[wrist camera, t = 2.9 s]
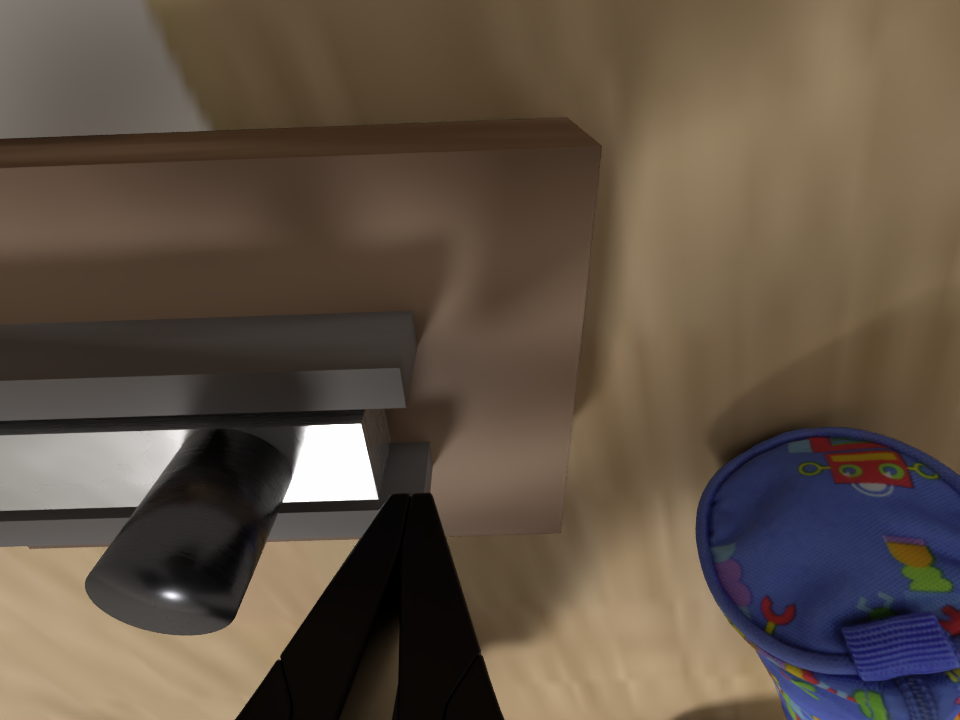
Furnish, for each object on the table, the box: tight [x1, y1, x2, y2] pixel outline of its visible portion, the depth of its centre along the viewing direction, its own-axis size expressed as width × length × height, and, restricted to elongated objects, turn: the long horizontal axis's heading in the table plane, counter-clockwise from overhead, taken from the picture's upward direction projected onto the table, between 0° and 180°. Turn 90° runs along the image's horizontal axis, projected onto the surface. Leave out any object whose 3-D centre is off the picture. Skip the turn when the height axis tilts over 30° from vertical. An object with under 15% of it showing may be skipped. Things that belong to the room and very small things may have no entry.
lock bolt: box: [0, 409, 391, 635], centre depth 10 cm, size 12×2×5 cm, turn 92°
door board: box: [0, 118, 602, 549], centre depth 13 cm, size 12×18×6 cm, turn 92°
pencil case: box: [696, 427, 960, 720], centre depth 20 cm, size 22×9×10 cm, turn 31°
